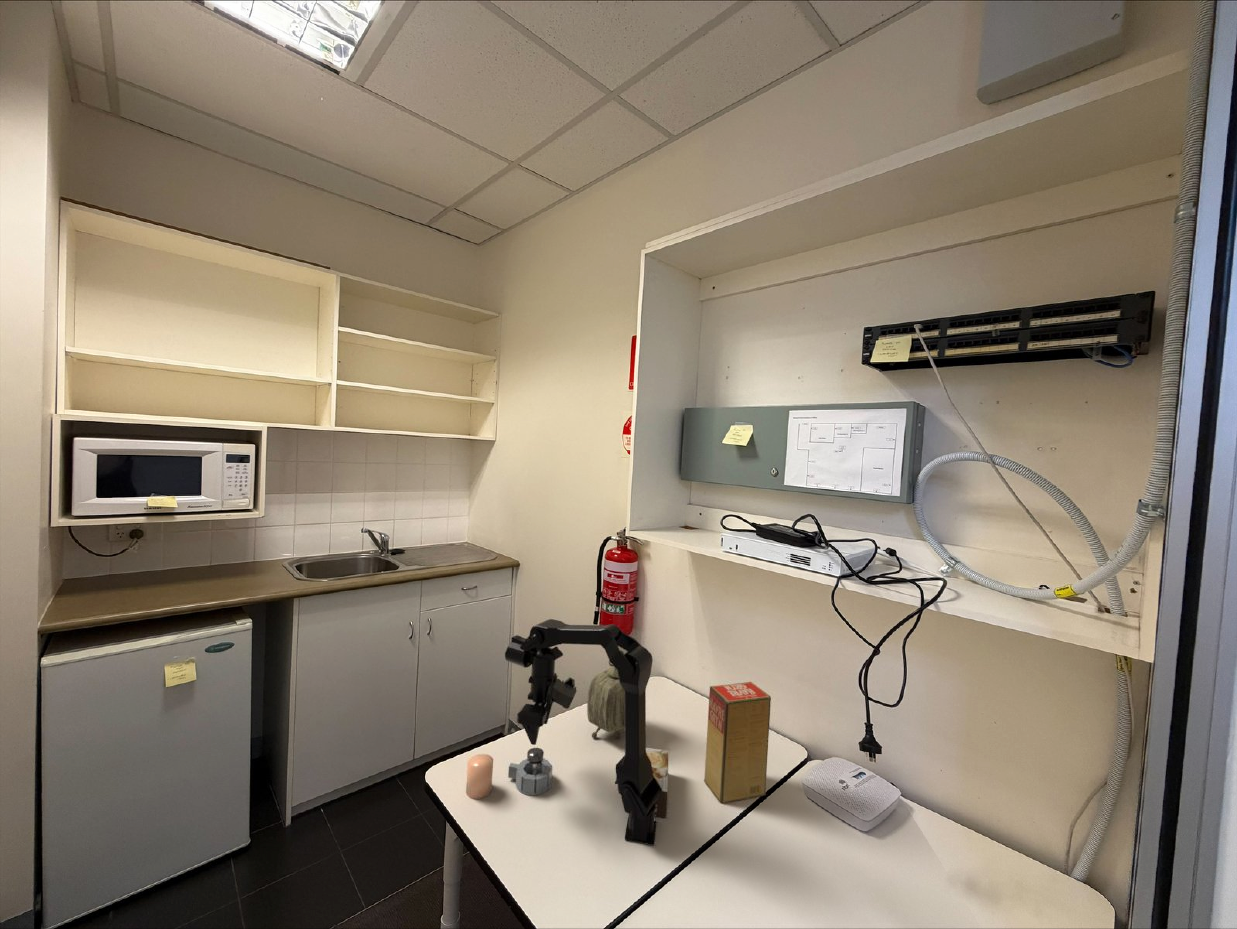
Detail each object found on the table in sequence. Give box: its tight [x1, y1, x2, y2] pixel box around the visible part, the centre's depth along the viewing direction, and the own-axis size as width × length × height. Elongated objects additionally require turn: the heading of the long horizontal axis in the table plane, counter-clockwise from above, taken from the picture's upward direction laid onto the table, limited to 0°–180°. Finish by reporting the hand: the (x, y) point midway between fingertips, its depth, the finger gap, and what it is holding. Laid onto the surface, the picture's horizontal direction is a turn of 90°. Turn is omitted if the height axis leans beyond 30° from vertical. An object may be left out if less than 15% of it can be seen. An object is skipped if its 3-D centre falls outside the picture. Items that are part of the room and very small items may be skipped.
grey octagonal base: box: [507, 757, 553, 796], centre depth 120 cm, size 9×11×4 cm
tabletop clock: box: [586, 649, 625, 739], centre depth 143 cm, size 14×9×25 cm, turn 139°
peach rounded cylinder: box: [465, 753, 494, 800], centre depth 116 cm, size 6×6×7 cm
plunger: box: [526, 747, 545, 775], centre depth 120 cm, size 4×4×7 cm
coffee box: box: [646, 747, 670, 819], centre depth 119 cm, size 9×6×16 cm
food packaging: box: [703, 681, 772, 804], centre depth 123 cm, size 13×9×25 cm
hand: (539, 733), depth 120 cm, fingers open, 9 cm apart
